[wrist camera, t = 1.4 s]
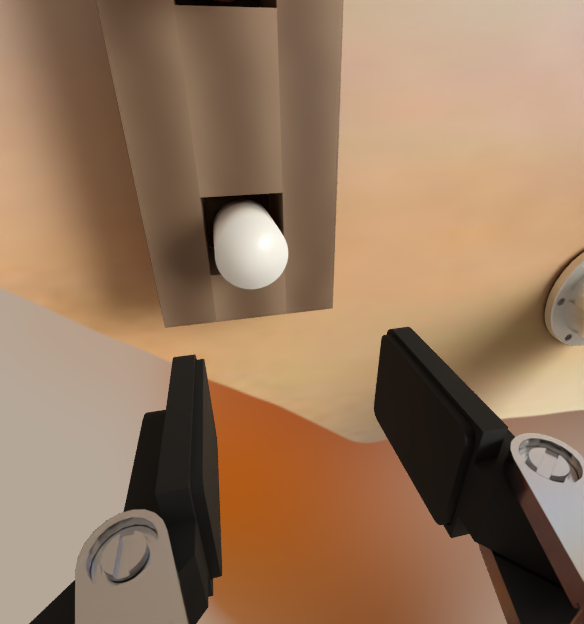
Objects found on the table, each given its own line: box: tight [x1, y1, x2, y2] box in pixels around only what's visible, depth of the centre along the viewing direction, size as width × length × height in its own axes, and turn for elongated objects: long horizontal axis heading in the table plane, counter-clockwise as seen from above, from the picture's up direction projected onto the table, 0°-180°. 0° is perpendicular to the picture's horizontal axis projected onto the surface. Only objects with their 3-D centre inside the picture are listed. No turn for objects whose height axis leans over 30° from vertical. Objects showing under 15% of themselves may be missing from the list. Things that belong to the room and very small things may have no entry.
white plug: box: [213, 199, 288, 289], centre depth 22 cm, size 4×4×6 cm
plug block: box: [96, 0, 343, 328], centre depth 23 cm, size 12×26×6 cm, turn 1°
